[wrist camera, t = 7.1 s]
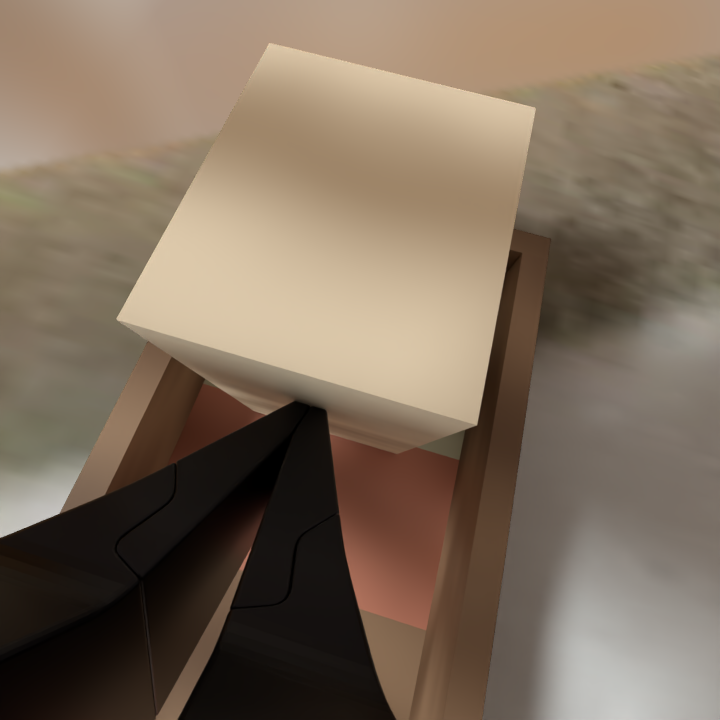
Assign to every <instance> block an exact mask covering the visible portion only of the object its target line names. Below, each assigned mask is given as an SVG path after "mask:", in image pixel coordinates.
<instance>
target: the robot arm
mask: <svg viewBox="0 0 720 720" xmlns="http://www.w3.org/2000/svg"><path fill="white" fill-rule="evenodd" d="M251 547H252V548H251ZM250 549H251V550H250ZM249 551H250V553H249V556H248V559H247V562H246V564H245V567H244V570H243V573H242V575H241V578H240V581H239V584H238V587H237V589H236V592H235V595H234V598H233V600H232V603H231V606H230V611H229V612H228V614H227V617H226V620H225V623H224V625H223V628H222V630H221V633H220V635H219V638H218V640H217V643H216V645H215V647H214V650H213V652H212V654H211V656H210V658H209V660H208V662H207V664H206V666H205V668H204V670H203V672H202V674H201V675H200V677H199V679H198V681H197V683H196V685H195V687H194V689H193V691H192V693H191V695H190V697H189V698H188V700H187V702H186V704H185V706H184V708H183V710H182V712H181V714H180V716H179V718H178V720H397V719H396V718H395V716H394V714H393V712H392V710H391V708H390V706H389V704H388V702H387V699H386V697H385V694H384V692H383V689H382V687H381V684H380V681H379V678H378V675H377V672H376V669H375V665H374V662H373V658H372V655H371V651H370V647H369V644H368V640H367V636H366V633H365V629H364V625H363V621H362V618H361V614H360V610H359V606H358V603H357V599H356V595H355V591H354V588H353V584H352V580H351V576H350V571H349V567H348V563H347V558H346V554H345V547H344V541H343V535H342V528H341V520H340V515H339V505H338V497H337V489H336V481H335V472H334V464H333V456H332V448H331V439H330V431H329V423H328V415H327V411H326V410H325V409H321V408H318V407H314V406H312V407H310V406H309V405H308V404H304V403H301V402H298V401H293V402H291V403H289V404H287V405H285V406H283V407H281V408H279V409H277V410H275V411H273V412H271V413H269V414H268V415H266V416H264V417H262V418H260V419H258V420H256V421H254V422H252V423H250V424H248V425H246V426H244V427H242V428H240V429H238V430H236V431H234V432H232V433H230V434H228V435H226V436H224V437H223V438H221V439H219V440H217V441H215V442H213V443H211V444H209V445H207V446H205V447H203V448H201V449H199V450H197V451H195V452H193V453H191V454H189V455H187V456H185V457H183V458H181V459H179V460H178V461H176V464H175V463H171V464H169V465H167V466H165V467H164V468H162V469H160V470H158V471H156V472H154V473H151V474H149V475H147V476H145V477H143V478H141V479H139V480H137V481H135V482H133V483H131V484H129V485H126V486H124V487H122V488H119V489H117V490H115V491H113V492H110V493H108V494H106V495H103V496H101V497H99V498H96V499H94V500H92V501H89V502H87V503H84V504H82V505H80V506H77V507H75V508H72V509H70V510H67V511H65V512H63V513H60V514H58V515H55V516H53V517H51V518H48V519H46V520H43V521H41V522H38V523H36V524H34V525H31V526H29V527H26V528H24V529H21V530H19V531H17V532H14V533H12V534H9V535H7V536H4V537H1V538H0V720H155V719H156V716H157V715H158V714H159V712H160V710H161V709H162V707H163V705H164V703H165V701H166V700H167V698H168V696H169V694H170V692H171V691H172V689H173V687H174V685H175V683H176V682H177V680H178V678H179V676H180V674H181V673H182V671H183V669H184V667H185V665H186V664H187V662H188V660H189V658H190V657H191V655H192V653H193V651H194V649H195V648H196V646H197V644H198V642H199V640H200V639H201V637H202V635H203V633H204V631H205V630H206V628H207V626H208V624H209V622H210V621H211V619H212V617H213V615H214V613H215V612H216V610H217V608H218V606H219V604H220V603H221V601H222V599H223V597H224V595H225V594H226V592H227V590H228V588H229V586H230V585H231V583H232V581H233V579H234V578H235V576H236V574H237V572H238V570H239V569H240V567H241V565H242V563H243V561H244V560H245V558H246V556H247V554H248V552H249Z"/></svg>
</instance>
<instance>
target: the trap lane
mask: <svg viewBox="0 0 720 720" xmlns="http://www.w3.org/2000/svg"><path fill="white" fill-rule="evenodd" d="M550 241H551V239H550V238H546V237H542V236H538V235H535V234H531V233H527V232H523V231H519V230H516V229H513V234H512V239H511V245H510V250H509V255H508V261H507V266H506V272H505V277H504V282H503V288H502V293H501V299H500V304H499V310H498V315H497V320H496V326H495V331H494V337H493V342H492V347H491V353H490V358H489V364H488V369H487V374H486V380H485V385H484V391H483V396H482V402H481V407H480V412H479V418H478V423H477V426H474V427H471V428H468V429H465V430H463V431H460V432H457V433H454V434H452V435H449V436H446V437H443V438H440V439H438V440H435V441H432V442H429V443H427V444H424V445H421V446H418V447H415V448H413V449H410V450H407V451H404V452H401V453H399V454H395V453H392V452H388V451H385V450H382V449H378V448H375V447H372V446H368V445H365V444H362V443H358V442H355V441H352V440H348V439H345V438H342V437H338V436H335V435H332V434H330V439H331V448H332V456H333V464H334V472H335V481H336V489H337V497H338V505H339V515H340V520H341V528H342V535H343V541H344V547H345V554H346V558H347V563H348V567H349V571H350V576H351V580H352V584H353V588H354V591H355V595H356V599H357V603H358V606H359V610H360V614H361V618H362V621H363V625H364V629H365V633H366V636H367V640H368V644H369V647H370V651H371V655H372V658H373V662H374V665H375V669H376V672H377V675H378V678H379V681H380V684H381V687H382V689H383V692H384V694H385V697H386V699H387V702H388V704H389V706H390V708H391V710H392V712H393V714H394V716H395V718H396V719H397V720H482V716H483V709H484V702H485V695H486V688H487V681H488V674H489V667H490V660H491V653H492V646H493V639H494V632H495V625H496V618H497V611H498V604H499V597H500V590H501V583H502V576H503V570H504V563H505V556H506V549H507V542H508V535H509V528H510V521H511V514H512V507H513V500H514V493H515V486H516V479H517V472H518V465H519V458H520V451H521V444H522V437H523V430H524V423H525V416H526V409H527V402H528V395H529V388H530V381H531V374H532V367H533V360H534V353H535V346H536V339H537V332H538V325H539V318H540V311H541V304H542V297H543V290H544V283H545V276H546V269H547V262H548V255H549V248H550ZM264 416H266V415H265V414H262V413H259V412H255V411H253V410H252V409H250V408H249V407H247V406H246V405H244V404H243V403H241V402H240V401H238V400H236V399H235V398H233V397H232V396H230V395H229V394H227V393H226V392H224V391H223V390H221V389H220V388H218V387H217V386H215V385H214V384H212V383H211V382H209V381H208V380H206V379H205V378H203V377H202V376H200V375H199V374H197V373H196V372H194V371H193V370H191V369H190V368H188V367H187V366H185V365H184V364H182V363H181V362H179V361H178V360H176V359H175V358H173V357H172V356H170V355H169V354H167V353H166V352H164V351H163V350H161V349H160V348H158V347H157V346H155V345H154V344H152V343H151V342H149V341H148V342H147V344H146V346H145V348H144V350H143V352H142V354H141V356H140V358H139V360H138V362H137V364H136V366H135V368H134V369H133V371H132V373H131V375H130V377H129V379H128V381H127V383H126V385H125V387H124V389H123V391H122V393H121V395H120V397H119V399H118V401H117V403H116V405H115V407H114V409H113V410H112V412H111V414H110V416H109V418H108V420H107V422H106V424H105V426H104V428H103V430H102V432H101V434H100V436H99V438H98V440H97V442H96V444H95V446H94V448H93V449H92V451H91V453H90V455H89V457H88V459H87V461H86V463H85V465H84V467H83V469H82V471H81V473H80V475H79V477H78V479H77V481H76V483H75V485H74V487H73V488H72V490H71V492H70V494H69V496H68V498H67V500H66V502H65V504H64V506H63V508H62V510H61V512H60V513H63V512H65V511H67V510H70V509H72V508H75V507H77V506H80V505H82V504H84V503H87V502H89V501H92V500H94V499H96V498H99V497H101V496H103V495H106V494H108V493H110V492H113V491H115V490H117V489H119V488H122V487H124V486H126V485H129V484H131V483H133V482H135V481H137V480H139V479H141V478H143V477H145V476H147V475H149V474H151V473H154V472H156V471H158V470H160V469H162V468H164V467H165V466H167V465H169V464H171V463H175V464H176V461H178V460H179V459H181V458H183V457H185V456H187V455H189V454H191V453H193V452H195V451H197V450H199V449H201V448H203V447H205V446H207V445H209V444H211V443H213V442H215V441H217V440H219V439H221V438H223V437H224V436H226V435H228V434H230V433H232V432H234V431H236V430H238V429H240V428H242V427H244V426H246V425H248V424H250V423H252V422H254V421H256V420H258V419H260V418H262V417H264ZM251 548H252V547H251ZM250 550H251V549H250ZM249 553H250V551H249V552H248V554H247V556H246V558H245V560H244V561H243V563H242V565H241V567H240V569H239V570H238V572H237V574H236V576H235V578H234V579H233V581H232V583H231V585H230V586H229V588H228V590H227V592H226V594H225V595H224V597H223V599H222V601H221V603H220V604H219V606H218V608H217V610H216V612H215V613H214V615H213V617H212V619H211V621H210V622H209V624H208V626H207V628H206V630H205V631H204V633H203V635H202V637H201V639H200V640H199V642H198V644H197V646H196V648H195V649H194V651H193V653H192V655H191V657H190V658H189V660H188V662H187V664H186V665H185V667H184V669H183V671H182V673H181V674H180V676H179V678H178V680H177V682H176V683H175V685H174V687H173V689H172V691H171V692H170V694H169V696H168V698H167V700H166V701H165V703H164V705H163V707H162V709H161V710H160V712H159V714H158V715H157V716H156V719H155V720H178V718H179V716H180V714H181V712H182V710H183V708H184V706H185V704H186V702H187V700H188V698H189V697H190V695H191V693H192V691H193V689H194V687H195V685H196V683H197V681H198V679H199V677H200V675H201V674H202V672H203V670H204V668H205V666H206V664H207V662H208V660H209V658H210V656H211V654H212V652H213V650H214V647H215V645H216V643H217V640H218V638H219V635H220V633H221V630H222V628H223V625H224V623H225V620H226V617H227V614H228V612H229V611H230V606H231V603H232V600H233V598H234V595H235V592H236V589H237V587H238V584H239V581H240V578H241V575H242V573H243V570H244V567H245V564H246V562H247V559H248V556H249Z"/></svg>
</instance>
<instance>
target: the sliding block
mask: <svg viewBox="0 0 720 720" xmlns="http://www.w3.org/2000/svg"><path fill="white" fill-rule="evenodd" d="M535 109H536V108H534V107H530V106H526V105H522V104H518V103H514V102H510V101H506V100H502V99H497V98H493V97H489V96H485V95H481V94H477V93H473V92H469V91H465V90H461V89H456V88H452V87H448V86H444V85H440V84H436V83H432V82H428V81H424V80H420V79H415V78H411V77H407V76H403V75H399V74H395V73H391V72H387V71H383V70H379V69H374V68H370V67H366V66H362V65H358V64H354V63H349V62H346V61H342V60H337V59H333V58H329V57H325V56H321V55H317V54H313V53H309V52H305V51H300V50H296V49H292V48H288V47H284V46H280V45H276V44H272V43H269V45H268V47H267V48H266V50H265V52H264V54H263V56H262V57H261V60H260V61H259V63H258V65H257V66H256V68H255V70H254V72H253V74H252V75H251V78H250V79H249V81H248V83H247V85H246V86H245V88H244V90H243V92H242V93H241V96H240V97H239V99H238V101H237V103H236V104H235V106H234V108H233V110H232V112H231V113H230V115H229V117H228V119H227V121H226V122H225V124H224V126H223V128H222V130H221V131H220V133H219V135H218V137H217V139H216V140H215V142H214V144H213V146H212V148H211V149H210V151H209V153H208V155H207V157H206V158H205V160H204V162H203V164H202V166H201V167H200V169H199V171H198V173H197V175H196V176H195V178H194V180H193V182H192V184H191V185H190V187H189V189H188V191H187V193H186V194H185V196H184V198H183V200H182V202H181V204H180V205H179V207H178V209H177V211H176V213H175V214H174V216H173V218H172V220H171V222H170V223H169V225H168V227H167V229H166V231H165V232H164V234H163V236H162V238H161V240H160V241H159V243H158V245H157V247H156V249H155V250H154V252H153V254H152V256H151V258H150V259H149V261H148V263H147V265H146V267H145V268H144V270H143V272H142V274H141V276H140V277H139V279H138V281H137V283H136V285H135V286H134V288H133V290H132V292H131V294H130V295H129V297H128V299H127V301H126V303H125V304H124V306H123V308H122V310H121V312H120V314H119V315H118V317H117V319H116V320H117V321H119V322H120V323H122V324H123V325H125V326H126V327H128V328H129V329H131V330H132V331H134V332H136V333H137V334H139V335H140V336H142V337H143V338H145V339H146V340H148V341H149V342H151V343H152V344H154V345H155V346H157V347H158V348H160V349H161V350H163V351H164V352H166V353H167V354H169V355H170V356H172V357H173V358H175V359H176V360H178V361H179V362H181V363H182V364H184V365H185V366H187V367H188V368H190V369H191V370H193V371H194V372H196V373H197V374H199V375H200V376H202V377H203V378H205V379H206V380H208V381H209V382H211V383H212V384H214V385H215V386H217V387H218V388H220V389H221V390H223V391H224V392H226V393H227V394H229V395H230V396H232V397H233V398H235V399H236V400H238V401H240V402H241V403H243V404H244V405H246V406H247V407H249V408H250V409H252V410H253V411H255V412H259V413H262V414H265V415H268V414H269V413H271V412H273V411H275V410H277V409H279V408H281V407H283V406H285V405H287V404H289V403H291V402H293V401H298V402H301V403H304V404H308V405H309V406H310V407H312V406H314V407H318V408H321V409H325V410H326V411H327V415H328V423H329V431H330V434H332V435H335V436H338V437H342V438H345V439H348V440H352V441H355V442H358V443H362V444H365V445H368V446H372V447H375V448H378V449H382V450H385V451H388V452H392V453H395V454H399V453H401V452H404V451H407V450H410V449H413V448H415V447H418V446H421V445H424V444H427V443H429V442H432V441H435V440H438V439H440V438H443V437H446V436H449V435H452V434H454V433H457V432H460V431H463V430H465V429H468V428H471V427H474V426H477V423H478V418H479V412H480V407H481V402H482V396H483V391H484V385H485V380H486V374H487V369H488V364H489V358H490V353H491V347H492V342H493V337H494V331H495V326H496V320H497V315H498V310H499V304H500V299H501V293H502V288H503V282H504V277H505V272H506V266H507V261H508V255H509V250H510V245H511V239H512V234H513V228H514V223H515V217H516V212H517V207H518V201H519V196H520V190H521V185H522V180H523V174H524V169H525V163H526V158H527V153H528V147H529V142H530V136H531V131H532V125H533V120H534V115H535Z"/></svg>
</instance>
